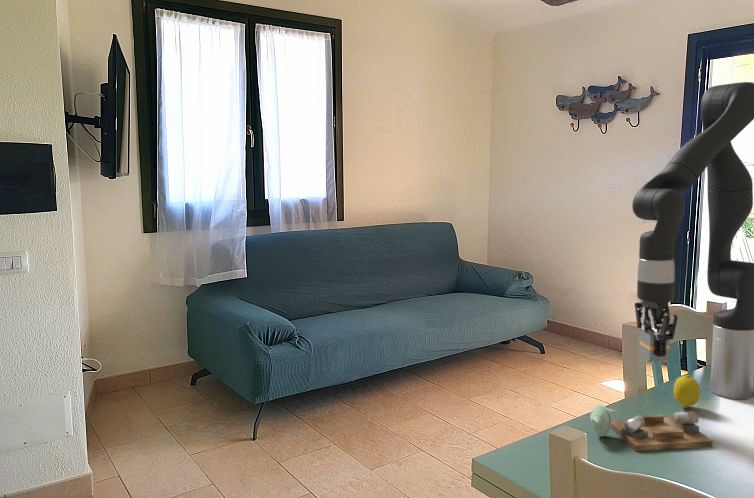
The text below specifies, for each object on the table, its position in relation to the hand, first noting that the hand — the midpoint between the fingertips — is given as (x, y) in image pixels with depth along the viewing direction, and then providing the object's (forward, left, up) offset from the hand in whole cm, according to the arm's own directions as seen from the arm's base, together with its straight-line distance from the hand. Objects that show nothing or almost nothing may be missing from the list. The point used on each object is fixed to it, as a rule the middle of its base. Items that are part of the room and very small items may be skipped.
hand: (653, 352), depth 133 cm
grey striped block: (0, 0, -1) cm, 1 cm away
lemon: (-10, -3, -15) cm, 19 cm away
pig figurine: (+16, +8, -15) cm, 24 cm away
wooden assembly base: (+4, +10, -15) cm, 18 cm away
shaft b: (+10, +11, -14) cm, 21 cm away
